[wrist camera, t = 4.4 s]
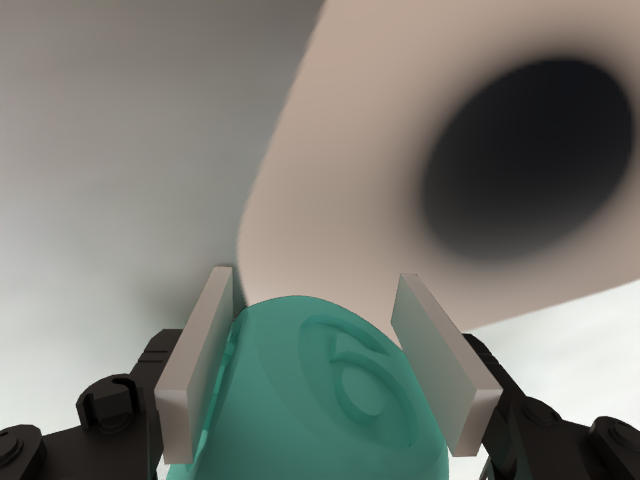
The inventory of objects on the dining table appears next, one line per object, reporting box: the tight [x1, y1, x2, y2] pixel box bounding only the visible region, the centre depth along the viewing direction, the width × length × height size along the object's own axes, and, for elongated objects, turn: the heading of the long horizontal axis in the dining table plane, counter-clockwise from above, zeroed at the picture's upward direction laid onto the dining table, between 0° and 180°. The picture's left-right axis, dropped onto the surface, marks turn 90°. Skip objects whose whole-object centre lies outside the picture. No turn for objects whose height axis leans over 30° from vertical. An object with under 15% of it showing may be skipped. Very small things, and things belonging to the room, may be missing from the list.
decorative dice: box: [166, 296, 449, 480], centre depth 13 cm, size 8×8×8 cm
